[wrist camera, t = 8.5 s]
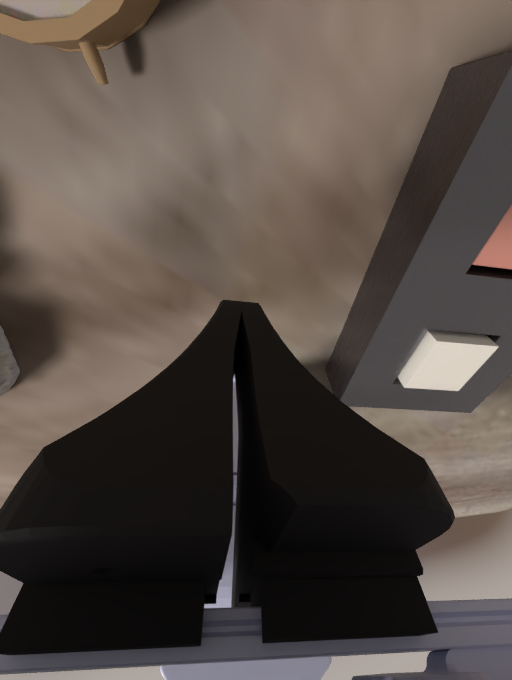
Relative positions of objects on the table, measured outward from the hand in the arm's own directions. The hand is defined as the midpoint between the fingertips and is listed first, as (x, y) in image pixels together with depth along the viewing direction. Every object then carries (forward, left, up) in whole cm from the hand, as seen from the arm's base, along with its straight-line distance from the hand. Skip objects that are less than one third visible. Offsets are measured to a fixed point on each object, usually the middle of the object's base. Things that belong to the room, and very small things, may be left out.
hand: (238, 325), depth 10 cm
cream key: (-5, -15, -8) cm, 18 cm away
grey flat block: (-1, -15, -9) cm, 18 cm away
